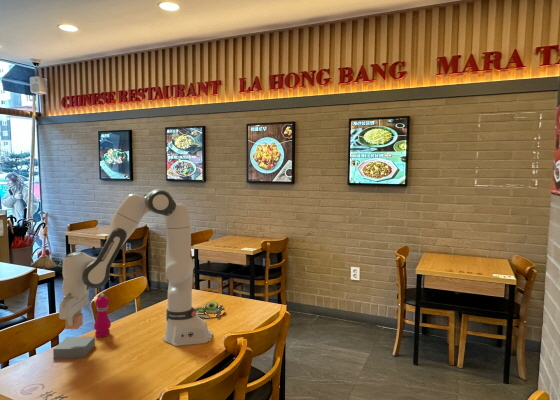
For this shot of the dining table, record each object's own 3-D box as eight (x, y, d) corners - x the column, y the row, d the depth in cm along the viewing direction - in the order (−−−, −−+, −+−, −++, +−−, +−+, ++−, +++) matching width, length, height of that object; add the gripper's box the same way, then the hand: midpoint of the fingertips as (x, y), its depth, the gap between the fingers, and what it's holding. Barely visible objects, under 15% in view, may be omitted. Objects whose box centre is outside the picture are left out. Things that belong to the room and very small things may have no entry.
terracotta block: (82, 324, 168) (82, 313, 168) (77, 329, 163) (77, 317, 163) (70, 324, 167) (70, 313, 167) (65, 329, 162) (65, 317, 162)
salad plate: (232, 317, 211) (232, 309, 211) (200, 322, 203) (200, 314, 203) (220, 306, 228) (220, 299, 228) (190, 311, 220) (190, 303, 220)
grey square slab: (94, 345, 172) (94, 336, 172) (83, 357, 160) (83, 348, 160) (66, 345, 171) (66, 337, 171) (53, 358, 159) (53, 349, 159)
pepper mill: (104, 338, 180) (104, 296, 179) (90, 336, 181) (90, 295, 180) (113, 332, 187) (113, 291, 186) (100, 330, 188) (100, 290, 187)
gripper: (70, 297, 154) (71, 331, 155) (91, 283, 175) (91, 313, 175) (54, 297, 154) (54, 331, 154) (76, 283, 174) (76, 313, 175)
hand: (74, 322), depth 165 cm, fingers closed on terracotta block, 5 cm apart
